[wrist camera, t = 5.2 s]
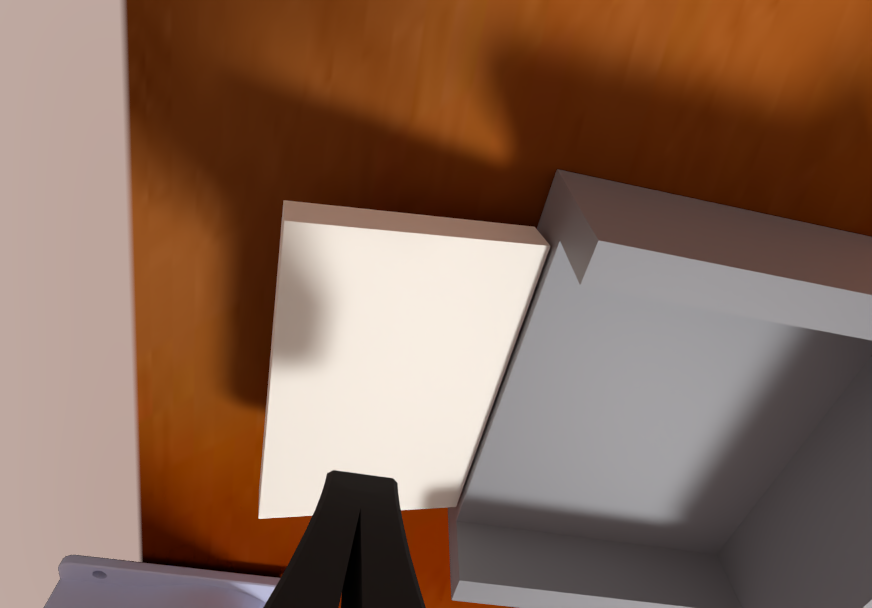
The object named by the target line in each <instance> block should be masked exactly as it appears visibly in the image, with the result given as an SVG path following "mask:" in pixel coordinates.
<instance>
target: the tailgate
mask: <svg viewBox="0 0 872 608" xmlns="http://www.w3.org/2000/svg"><path fill="white" fill-rule="evenodd" d="M549 249H550V245H549V244H548V242H547V241H546V240H545V239H544V238H543V236H542V235H541V234H540V233H539V231H538V230H537V229H536V228H535V227H533V226H523V225H514V224H504V223H495V222H485V221H476V220H467V219H457V218H448V217H438V216H429V215H419V214H410V213H400V212H391V211H381V210H372V209H363V208H353V207H344V206H334V205H325V204H315V203H306V202H296V201H287V200H283V212H282V224H281V236H280V248H279V260H278V272H277V283H276V295H275V307H274V319H273V331H272V343H271V355H270V367H269V379H268V391H267V403H266V415H265V427H264V438H263V450H262V462H261V474H260V486H259V519H263V518H280V517H296V516H313V514H314V511H315V509H316V506H317V504H318V501H319V499H320V496H321V493H322V490H323V487H324V484H325V480H326V476H327V473H329V472H331V471H333V470H337V471H344V472H351V473H358V474H366V475H373V476H380V477H388V478H393V479H394V480H395V481H396V482H397V483H398V495H399V502H400V509H401V510H412V509H428V508H445V507H456V506H457V503H458V500H459V498H460V495H461V492H462V489H463V486H464V484H465V481H466V478H467V475H468V473H469V470H470V467H471V464H472V462H473V459H474V456H475V453H476V451H477V448H478V445H479V442H480V439H481V437H482V434H483V431H484V428H485V426H486V423H487V420H488V417H489V415H490V412H491V409H492V406H493V404H494V401H495V398H496V395H497V392H498V390H499V387H500V384H501V381H502V379H503V376H504V373H505V370H506V368H507V365H508V362H509V359H510V357H511V354H512V351H513V348H514V345H515V343H516V340H517V337H518V334H519V332H520V329H521V326H522V323H523V321H524V318H525V315H526V312H527V310H528V307H529V304H530V301H531V298H532V296H533V293H534V290H535V287H536V285H537V282H538V279H539V276H540V274H541V271H542V268H543V265H544V263H545V260H546V257H547V254H548V251H549Z"/></svg>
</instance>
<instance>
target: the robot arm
mask: <svg viewBox="0 0 872 608" xmlns="http://www.w3.org/2000/svg"><path fill="white" fill-rule="evenodd" d="M58 570H59V575H60V580H59V582H58V583H57V585H56V587H55V589H54V591H53V592H52V594H51V596H50V598H49V599H48V601H47V603H46V604H45V606H44V608H338V606H339V602H340V598H341V593H342V600H341V608H426V607H425V604H424V601H423V598H422V594H421V591H420V588H419V584H418V581H417V577H416V574H415V570H414V567H413V563H412V559H411V556H410V552H409V548H408V543H407V539H406V534H405V530H404V525H403V520H402V515H401V509H400V502H399V495H398V483H397V482H396V481H395V480H394V479H393V478H388V477H380V476H373V475H366V474H358V473H351V472H344V471H337V470H333V471H331V472H329V473H327V476H326V480H325V484H324V487H323V490H322V493H321V496H320V499H319V501H318V504H317V506H316V509H315V511H314V514H313V516H312V518H311V520H310V522H309V525H308V527H307V529H306V531H305V533H304V535H303V537H302V539H301V541H300V543H299V545H298V547H297V549H296V551H295V553H294V555H293V556H292V558H291V560H290V562H289V564H288V566H287V568H286V570H285V571H284V573H283V575H282V577H281V578H277V577H268V576H259V575H250V574H241V573H232V572H223V571H214V570H205V569H197V568H188V567H179V566H170V565H161V564H152V563H143V562H134V561H125V560H116V559H107V558H98V557H88V556H80V555H69V556H66V557H65V558H63V560H62V561H61V563H60V565H59V567H58Z"/></svg>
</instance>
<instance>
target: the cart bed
mask: <svg viewBox="0 0 872 608" xmlns="http://www.w3.org/2000/svg"><path fill="white" fill-rule="evenodd" d="M537 230H538V231H539V233H540V234H541V235H542V236H543V238H544V239H545V240H546V241H547V242H548V244H549V245H550V249H549V251H548V254H547V257H546V260H545V263H544V265H543V268H542V271H541V274H540V276H539V279H538V282H537V285H536V287H535V290H534V293H533V296H532V298H531V301H530V304H529V307H528V310H527V312H526V315H525V318H524V321H523V323H522V326H521V329H520V332H519V334H518V337H517V340H516V343H515V345H514V348H513V351H512V354H511V357H510V359H509V362H508V365H507V368H506V370H505V373H504V376H503V379H502V381H501V384H500V387H499V390H498V392H497V395H496V398H495V401H494V404H493V406H492V409H491V412H490V415H489V417H488V420H487V423H486V426H485V428H484V431H483V434H482V437H481V439H480V442H479V445H478V448H477V451H476V453H475V456H474V459H473V462H472V464H471V467H470V470H469V473H468V475H467V478H466V481H465V484H464V486H463V489H462V492H461V495H460V498H459V500H458V503H457V506H456V507H448V523H449V549H450V574H451V599H452V600H455V601H464V602H473V603H482V604H491V605H500V606H509V607H518V608H872V237H871V236H866V235H861V234H857V233H852V232H847V231H843V230H838V229H834V228H829V227H824V226H820V225H815V224H810V223H806V222H801V221H796V220H792V219H787V218H782V217H778V216H773V215H768V214H764V213H759V212H754V211H750V210H745V209H740V208H736V207H731V206H727V205H722V204H717V203H713V202H708V201H703V200H699V199H694V198H689V197H685V196H680V195H675V194H671V193H666V192H661V191H657V190H652V189H647V188H643V187H638V186H633V185H629V184H624V183H620V182H615V181H610V180H606V179H601V178H596V177H592V176H587V175H582V174H578V173H573V172H568V171H564V170H559V169H557V171H556V174H555V176H554V179H553V182H552V185H551V188H550V191H549V194H548V197H547V200H546V203H545V206H544V209H543V212H542V215H541V217H540V220H539V223H538V226H537Z"/></svg>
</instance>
